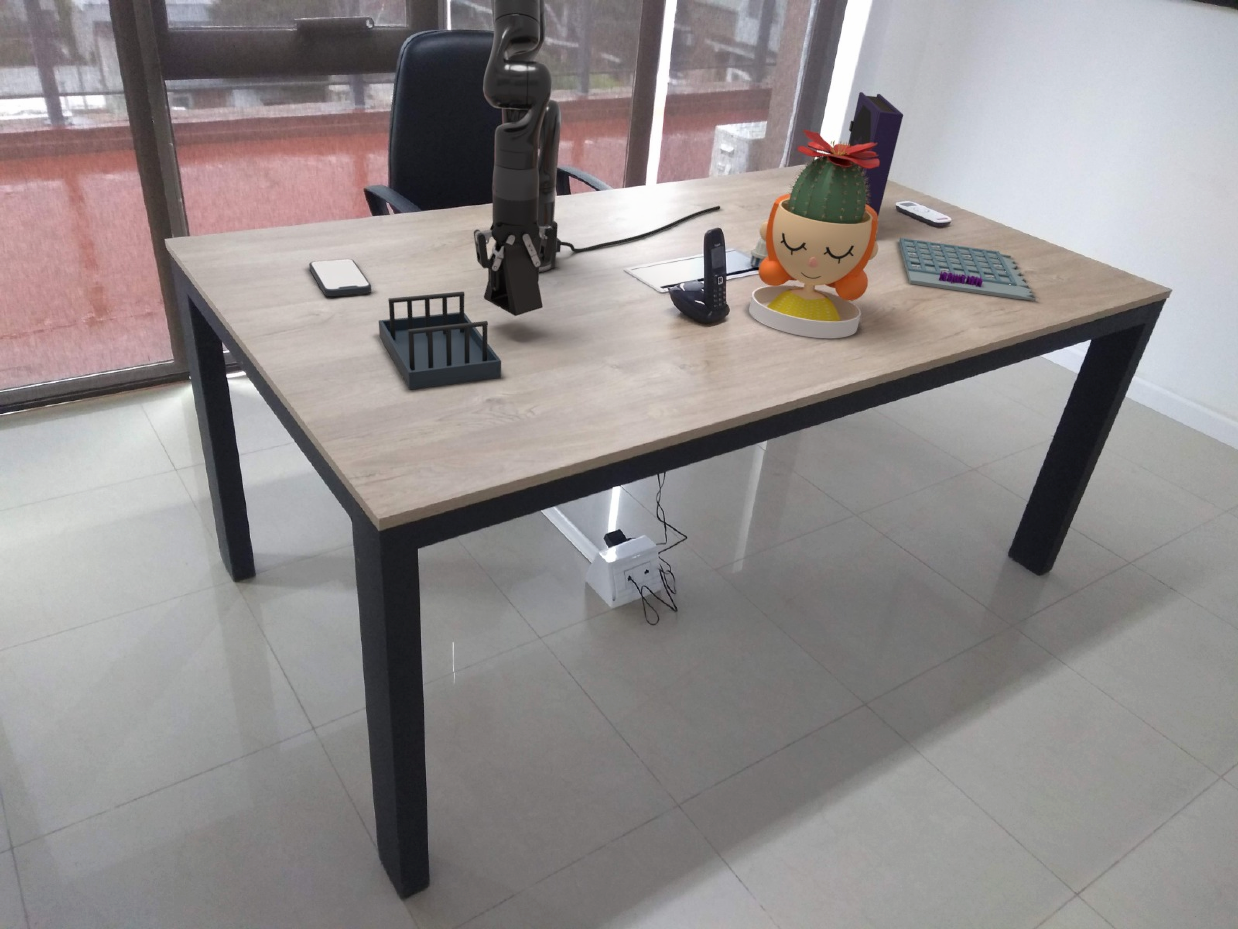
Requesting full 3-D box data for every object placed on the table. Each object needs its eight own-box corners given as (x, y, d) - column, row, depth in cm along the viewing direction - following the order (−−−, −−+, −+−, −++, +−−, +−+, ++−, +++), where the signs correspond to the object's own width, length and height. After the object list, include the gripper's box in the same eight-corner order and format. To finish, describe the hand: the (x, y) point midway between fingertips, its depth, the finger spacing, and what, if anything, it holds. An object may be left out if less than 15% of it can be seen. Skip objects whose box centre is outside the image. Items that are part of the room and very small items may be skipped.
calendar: (1011, 258, 223) (1014, 249, 221) (1036, 301, 199) (1039, 291, 198) (898, 243, 226) (901, 233, 224) (909, 283, 202) (912, 273, 200)
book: (874, 240, 225) (905, 114, 209) (849, 238, 225) (878, 111, 209) (854, 211, 245) (881, 93, 229) (831, 209, 245) (857, 91, 228)
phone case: (308, 269, 179) (325, 298, 167) (307, 261, 178) (324, 290, 167) (353, 265, 183) (373, 294, 171) (352, 257, 182) (373, 286, 170)
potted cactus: (854, 346, 170) (902, 155, 152) (738, 322, 175) (770, 134, 156) (863, 305, 188) (906, 130, 169) (757, 285, 193) (788, 112, 174)
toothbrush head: (841, 239, 211) (767, 238, 196) (832, 267, 214) (759, 268, 199) (824, 232, 214) (751, 231, 199) (816, 259, 217) (743, 260, 202)
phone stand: (483, 298, 161) (483, 232, 154) (510, 291, 165) (511, 226, 158) (516, 316, 156) (517, 249, 149) (542, 308, 160) (545, 242, 153)
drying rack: (463, 327, 163) (463, 282, 158) (500, 377, 148) (501, 330, 143) (379, 336, 157) (376, 290, 152) (409, 389, 142) (407, 340, 137)
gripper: (481, 201, 144) (481, 299, 153) (564, 195, 149) (560, 291, 159) (466, 186, 149) (467, 282, 158) (547, 181, 155) (544, 275, 164)
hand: (513, 286), depth 158 cm, fingers closed on phone stand, 6 cm apart
